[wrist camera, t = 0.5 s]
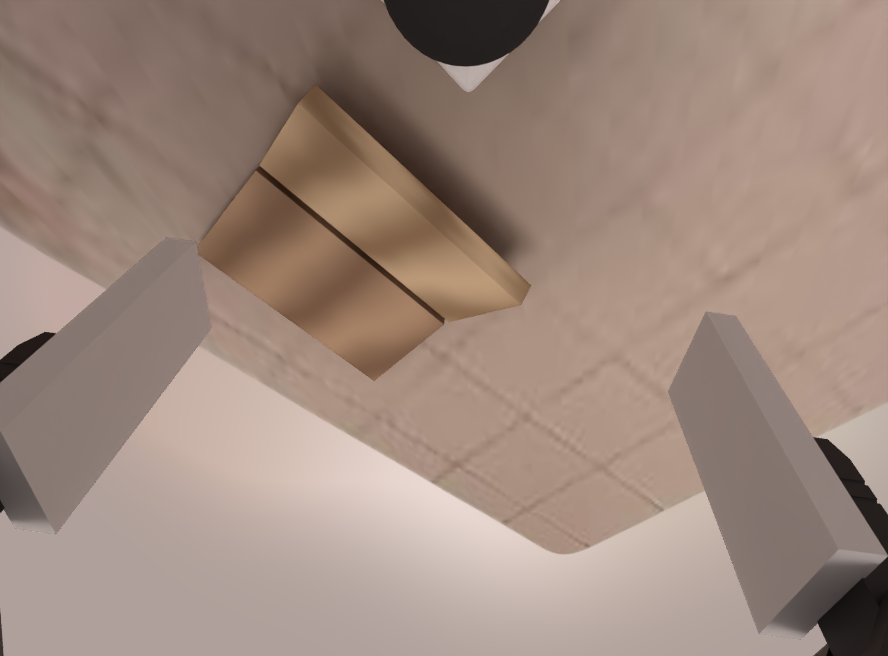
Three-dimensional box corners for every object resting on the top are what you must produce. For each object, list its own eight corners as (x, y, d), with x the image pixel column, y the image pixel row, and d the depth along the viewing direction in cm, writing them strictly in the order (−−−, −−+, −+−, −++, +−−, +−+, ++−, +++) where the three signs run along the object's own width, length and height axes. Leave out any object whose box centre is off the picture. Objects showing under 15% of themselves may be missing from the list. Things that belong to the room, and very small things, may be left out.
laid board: (203, 241, 38) (193, 251, 37) (273, 149, 34) (265, 157, 33) (377, 368, 44) (374, 380, 43) (455, 304, 40) (454, 315, 38)
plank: (273, 148, 33) (259, 165, 33) (315, 84, 26) (297, 103, 26) (458, 305, 39) (448, 321, 38) (530, 285, 32) (521, 304, 32)
